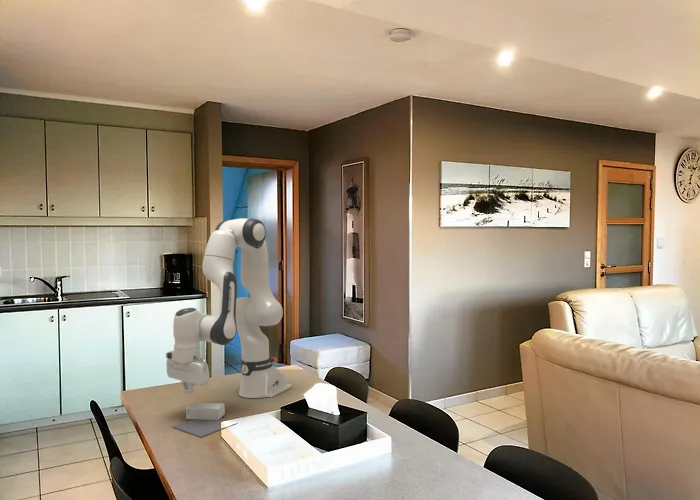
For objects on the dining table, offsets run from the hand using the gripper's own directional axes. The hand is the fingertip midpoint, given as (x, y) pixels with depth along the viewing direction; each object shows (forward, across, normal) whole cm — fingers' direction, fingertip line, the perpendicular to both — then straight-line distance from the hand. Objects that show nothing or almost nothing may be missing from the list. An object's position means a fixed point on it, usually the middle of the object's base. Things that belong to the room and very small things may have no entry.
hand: (188, 393), depth 188 cm
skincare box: (+7, +1, -1) cm, 7 cm away
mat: (+9, -10, +1) cm, 14 cm away
